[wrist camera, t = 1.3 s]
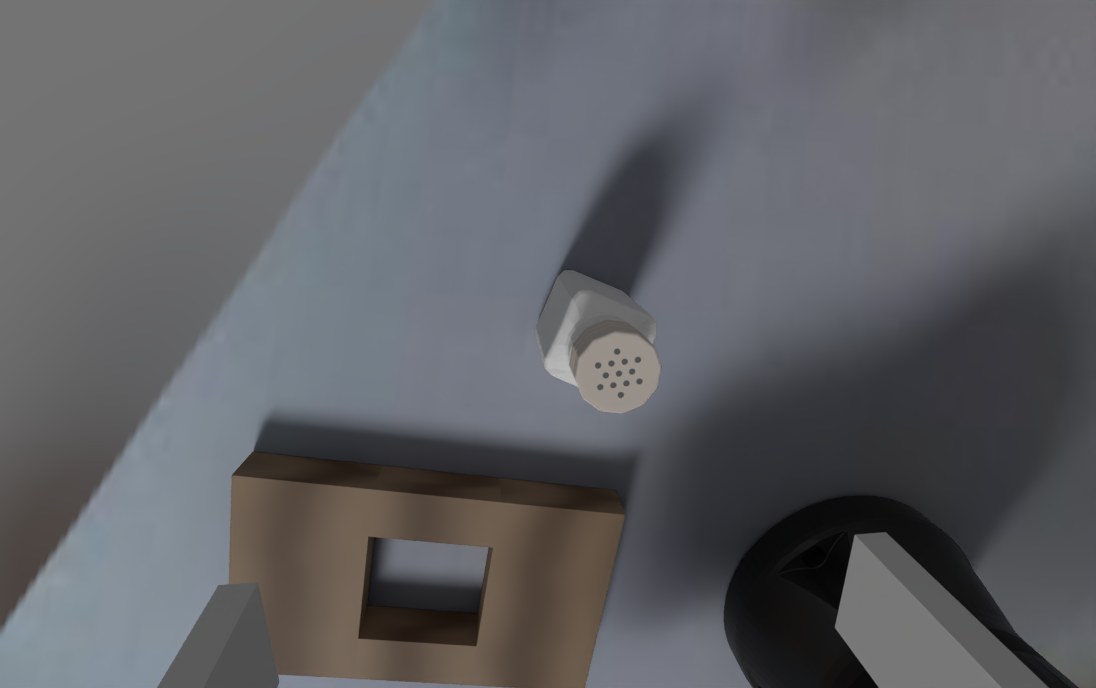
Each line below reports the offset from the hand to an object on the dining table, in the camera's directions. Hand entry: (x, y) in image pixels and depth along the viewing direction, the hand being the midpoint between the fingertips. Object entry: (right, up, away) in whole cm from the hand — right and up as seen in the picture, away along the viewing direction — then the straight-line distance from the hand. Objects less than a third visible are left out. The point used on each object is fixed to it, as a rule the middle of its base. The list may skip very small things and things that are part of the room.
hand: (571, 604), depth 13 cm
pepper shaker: (+1, +7, +17) cm, 19 cm away
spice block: (-7, -7, +20) cm, 23 cm away
